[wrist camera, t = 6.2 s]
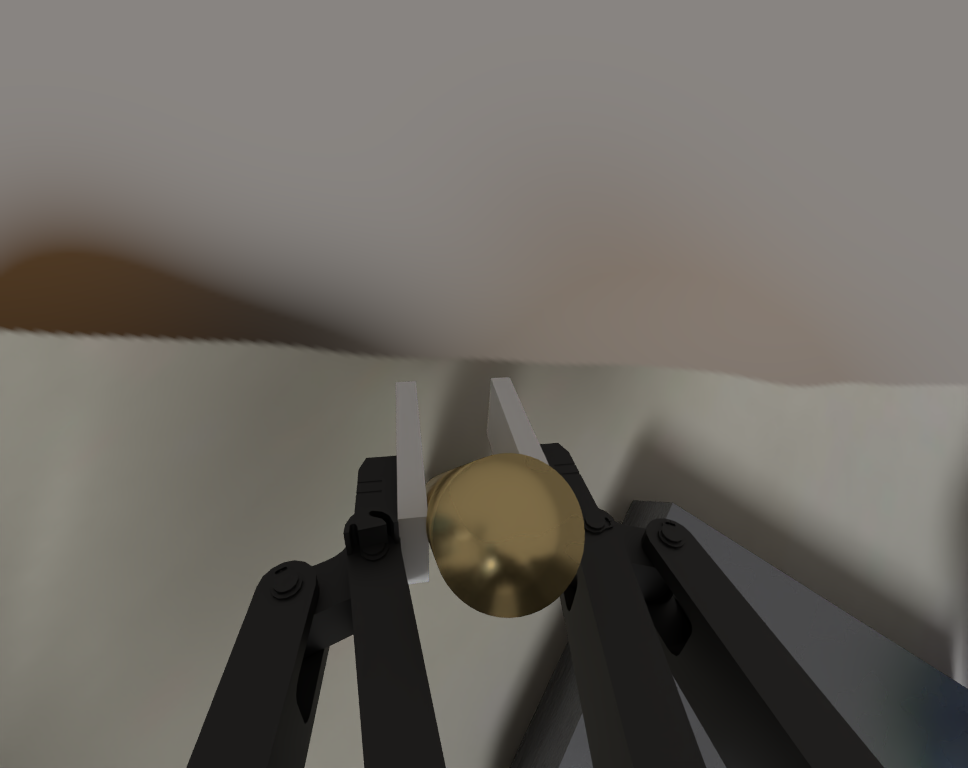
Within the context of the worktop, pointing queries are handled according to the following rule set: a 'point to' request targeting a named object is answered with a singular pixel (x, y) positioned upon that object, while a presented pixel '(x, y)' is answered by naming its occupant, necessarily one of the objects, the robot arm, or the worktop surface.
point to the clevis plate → (819, 651)
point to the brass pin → (505, 533)
